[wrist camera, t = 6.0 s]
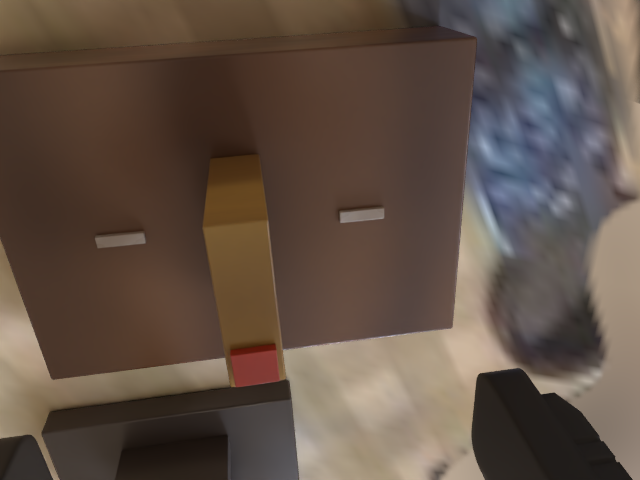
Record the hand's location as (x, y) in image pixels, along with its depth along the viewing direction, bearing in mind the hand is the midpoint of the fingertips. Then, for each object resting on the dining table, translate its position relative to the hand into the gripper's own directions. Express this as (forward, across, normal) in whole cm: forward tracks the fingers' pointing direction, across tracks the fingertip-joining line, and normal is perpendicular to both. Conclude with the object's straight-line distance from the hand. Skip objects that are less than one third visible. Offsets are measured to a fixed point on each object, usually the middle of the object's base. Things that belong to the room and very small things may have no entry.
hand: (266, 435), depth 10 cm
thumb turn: (+8, 0, -1) cm, 8 cm away
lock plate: (+11, 0, -1) cm, 11 cm away
